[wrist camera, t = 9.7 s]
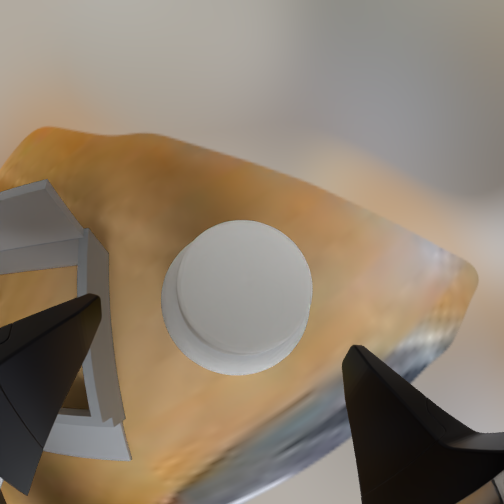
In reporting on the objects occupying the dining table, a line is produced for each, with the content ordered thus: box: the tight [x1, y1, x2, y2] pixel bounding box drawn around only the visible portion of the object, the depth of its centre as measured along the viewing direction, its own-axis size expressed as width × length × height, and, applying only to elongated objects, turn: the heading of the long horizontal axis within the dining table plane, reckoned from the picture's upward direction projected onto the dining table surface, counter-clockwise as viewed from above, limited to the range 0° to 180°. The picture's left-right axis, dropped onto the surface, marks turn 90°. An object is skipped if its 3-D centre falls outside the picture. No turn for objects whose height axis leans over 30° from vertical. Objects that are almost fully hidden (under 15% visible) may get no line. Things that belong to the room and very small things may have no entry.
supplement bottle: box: [161, 220, 312, 375], centre depth 12 cm, size 6×6×10 cm
